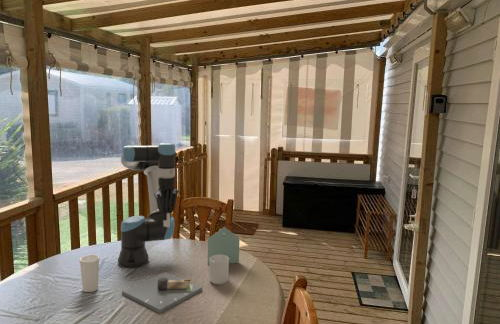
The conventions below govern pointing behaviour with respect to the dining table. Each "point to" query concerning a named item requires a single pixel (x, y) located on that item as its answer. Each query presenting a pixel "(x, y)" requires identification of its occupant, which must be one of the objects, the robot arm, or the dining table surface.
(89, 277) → the cup
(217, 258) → the mug
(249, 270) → the dining table surface
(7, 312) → the dining table surface
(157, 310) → the dial board
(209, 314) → the dining table surface
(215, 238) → the teal house-shaped block
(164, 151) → the robot arm
